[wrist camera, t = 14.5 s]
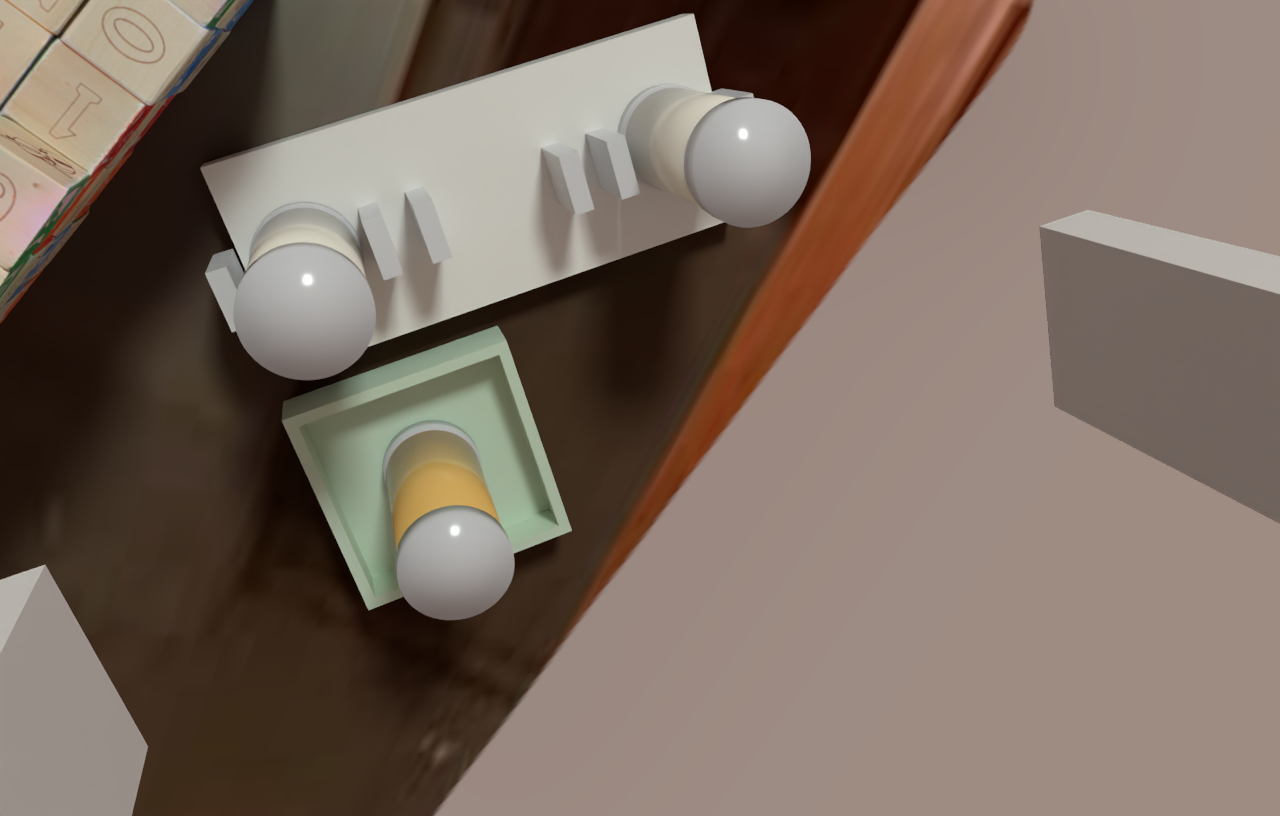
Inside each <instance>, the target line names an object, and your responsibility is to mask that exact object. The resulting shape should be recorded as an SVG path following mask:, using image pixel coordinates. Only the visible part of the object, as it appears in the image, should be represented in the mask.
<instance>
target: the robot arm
mask: <svg viewBox="0 0 1280 816" xmlns="http://www.w3.org/2000/svg"><path fill="white" fill-rule="evenodd" d="M1040 238H1041V249H1042V260H1043V261H1042V262H1043V273H1044V285H1045V297H1046V309H1047V321H1048V333H1049V345H1050V356H1051V368H1052V379H1053V392H1054V403H1055V407H1057V408H1059V409H1061V410H1063V411H1065V412H1067V413H1069V414H1070V415H1072V416H1074V417H1076V418H1078V419H1080V420H1082V421H1084V422H1086V423H1088V424H1090V425H1092V426H1093V427H1096V428H1098V429H1099V430H1101V431H1103V432H1105V433H1107V434H1109V435H1111V436H1113V437H1115V438H1116V439H1118V440H1120V441H1123V442H1124V443H1126V444H1128V445H1130V446H1132V447H1134V448H1136V449H1138V450H1140V451H1142V452H1143V453H1145V454H1147V455H1149V456H1151V457H1153V458H1155V459H1157V460H1159V461H1161V462H1163V463H1165V464H1166V465H1168V466H1170V467H1172V468H1174V469H1176V470H1178V471H1180V472H1182V473H1184V474H1186V475H1187V476H1189V477H1191V478H1193V479H1195V480H1197V481H1199V482H1201V483H1203V484H1205V485H1207V486H1209V487H1210V488H1213V489H1215V490H1216V491H1218V492H1220V493H1222V494H1224V495H1226V496H1228V497H1230V498H1232V499H1234V500H1236V501H1237V502H1239V503H1241V504H1243V505H1245V506H1247V507H1249V508H1251V509H1253V510H1255V511H1257V512H1258V513H1260V514H1262V515H1264V516H1266V517H1268V518H1270V519H1272V520H1274V521H1276V522H1278V523H1280V256H1275V255H1272V254H1267V253H1263V252H1259V251H1255V250H1251V249H1247V248H1243V247H1239V246H1235V245H1231V244H1227V243H1222V242H1218V241H1214V240H1210V239H1206V238H1202V237H1197V236H1194V235H1190V234H1185V233H1181V232H1177V231H1173V230H1169V229H1165V228H1161V227H1157V226H1152V225H1148V224H1144V223H1140V222H1136V221H1132V220H1128V219H1124V218H1120V217H1116V216H1111V215H1107V214H1103V213H1099V212H1095V211H1091V210H1086V211H1083V212H1080V213H1077V214H1074V215H1071V216H1068V217H1065V218H1063V219H1059V220H1057V221H1054V222H1051V223H1048V224H1045V225H1042V226H1040ZM147 748H148V746H147V744H146V742H145V740H144V739H143V737H142V735H141V733H140V732H139V730H138V728H137V726H136V724H135V723H134V721H133V719H132V717H131V716H130V714H129V712H128V710H127V709H126V707H125V705H124V703H123V701H122V700H121V698H120V696H119V694H118V693H117V691H116V689H115V687H114V686H113V684H112V682H111V680H110V678H109V677H108V675H107V673H106V671H105V670H104V668H103V666H102V664H101V663H100V661H99V659H98V657H97V656H96V654H95V652H94V650H93V648H92V647H91V645H90V643H89V641H88V640H87V638H86V636H85V634H84V633H83V631H82V629H81V627H80V625H79V624H78V622H77V620H76V618H75V617H74V615H73V613H72V611H71V610H70V608H69V606H68V604H67V602H66V601H65V599H64V597H63V595H62V594H61V592H60V590H59V588H58V587H57V585H56V583H55V581H54V579H53V578H52V576H51V574H50V572H49V571H48V569H47V567H46V565H43V566H40V567H37V568H34V569H31V570H28V571H25V572H22V573H19V574H16V575H13V576H10V577H7V578H4V579H2V580H0V816H132V812H133V808H134V803H135V799H136V795H137V791H138V786H139V782H140V778H141V774H142V769H143V765H144V761H145V757H146V752H147Z"/></svg>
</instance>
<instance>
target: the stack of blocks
mask: <svg viewBox="0 0 1280 816" xmlns="http://www.w3.org/2000/svg"><path fill="white" fill-rule="evenodd" d="M253 1H254V0H0V323H1V322H2V321H3V320H4V319H5V317H6V316H7V315H8V314H9V312H10V311H11V310H12V309H13V307H14V306H15V305H16V304H17V302H18V301H19V300H20V299H21V297H22V296H23V295H24V293H25V292H26V291H27V290H28V288H29V287H30V286H31V285H32V283H33V282H34V281H35V280H36V278H37V277H38V276H39V275H40V273H41V272H42V271H43V269H44V268H45V267H46V266H47V265H48V264H49V263H50V261H51V260H52V259H53V258H54V256H55V255H56V254H57V253H58V252H59V250H60V249H61V248H62V247H63V245H64V244H65V243H66V242H67V240H68V239H69V238H70V237H71V235H72V234H73V233H74V232H75V230H76V229H77V228H78V227H79V225H80V224H81V223H82V222H83V220H84V219H85V218H86V217H87V215H88V214H89V212H90V209H89V207H90V205H91V204H92V203H93V202H94V201H95V199H96V198H97V197H98V196H99V195H100V193H101V192H102V191H103V189H104V188H105V187H106V185H107V184H108V183H109V182H110V181H111V179H112V178H113V177H114V175H115V174H116V173H117V172H118V170H119V169H120V168H121V167H122V165H123V164H124V163H125V162H126V160H127V159H128V158H129V157H130V155H131V154H132V153H133V150H134V147H135V146H136V145H137V143H138V142H139V141H140V140H141V139H142V137H143V136H144V135H145V134H146V132H147V131H148V130H149V129H150V127H151V126H152V125H153V124H154V122H155V121H156V120H157V118H158V117H159V116H160V115H161V113H162V112H163V111H164V110H165V108H166V107H167V106H168V104H169V103H170V102H171V101H172V99H173V98H174V97H175V96H176V94H177V93H180V92H182V91H184V90H185V89H186V88H187V87H188V86H189V84H190V83H191V82H192V80H193V79H194V78H195V77H196V75H197V74H198V73H199V72H200V70H201V69H202V68H203V67H204V65H205V64H206V63H207V62H208V60H209V59H210V58H211V57H212V55H213V54H214V53H215V52H216V50H217V49H218V48H219V47H220V45H221V44H222V43H223V42H224V40H225V39H226V38H227V37H228V35H229V34H230V32H231V29H232V28H233V26H234V25H235V24H236V22H237V21H238V20H239V19H240V17H241V16H242V15H243V14H244V13H245V11H246V10H247V9H248V8H249V6H250V5H251V4H252V2H253Z"/></svg>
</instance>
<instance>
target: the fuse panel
mask: <svg viewBox="0 0 1280 816" xmlns="http://www.w3.org/2000/svg"><path fill="white" fill-rule="evenodd" d="M659 84H675V85H680V86H686V87H688V88H691V89H693V90H695V91H700V92H706V93H712V94H717V95H723V96H729V97H734V98H741V97H752V98H754V97H753V93H747V92H741V91H735V90H728V89H719V90H716V91H713V92H712V91H711V87H710V83H709V78H708V74H707V70H706V65H705V61H704V57H703V52H702V48H701V43H700V39H699V35H698V30H697V26H696V22H695V17H694V14H681V15H678V16H674V17H671V18H668V19H665V20H662V21H658V22H655V23H652V24H649V25H646V26H642V27H639V28H636V29H633V30H630V31H626V32H623V33H620V34H617V35H614V36H610V37H607V38H604V39H601V40H597V41H594V42H591V43H588V44H585V45H581V46H578V47H575V48H572V49H569V50H565V51H562V52H559V53H556V54H553V55H549V56H546V57H543V58H540V59H537V60H533V61H530V62H527V63H524V64H521V65H517V66H514V67H511V68H508V69H504V70H501V71H498V72H495V73H492V74H488V75H485V76H482V77H479V78H476V79H472V80H469V81H466V82H463V83H460V84H456V85H453V86H450V87H447V88H444V89H440V90H437V91H434V92H431V93H428V94H424V95H421V96H418V97H415V98H411V99H408V100H405V101H402V102H399V103H395V104H392V105H389V106H386V107H383V108H379V109H376V110H373V111H370V112H367V113H363V114H360V115H357V116H354V117H351V118H347V119H344V120H341V121H338V122H335V123H331V124H328V125H325V126H322V127H318V128H315V129H312V130H309V131H306V132H302V133H299V134H296V135H293V136H290V137H286V138H283V139H280V140H277V141H274V142H270V143H267V144H264V145H261V146H258V147H254V148H251V149H248V150H245V151H242V152H238V153H235V154H232V155H229V156H225V157H222V158H219V159H216V160H213V161H209V162H206V163H204V164H203V165H202V166H201V167H200V169H201V171H202V174H203V176H204V178H205V180H206V183H207V185H208V187H209V189H210V192H211V194H212V196H213V198H214V201H215V203H216V205H217V207H218V210H219V212H220V214H221V216H222V219H223V221H224V223H225V225H226V228H227V230H228V232H229V234H230V237H231V239H232V241H233V243H234V246H235V248H236V250H237V252H238V255H239V257H240V259H241V261H242V264H243V266H244V268H245V270H246V269H247V265H248V262H249V250H250V245H251V241H252V238H253V235H254V232H255V230H256V229H257V227H258V225H259V224H260V222H261V221H262V220H263V219H264V218H265V217H266V216H267V215H268V214H269V213H270V212H272V211H273V210H275V209H277V208H278V207H281V206H283V205H285V204H289V203H293V202H306V201H307V202H315V203H319V204H323V205H326V206H328V207H330V208H332V209H334V210H336V211H337V212H339V213H340V214H342V215H343V216H344V217H345V218H346V219H347V220H348V221H349V222H350V223H351V224H352V226H353V227H354V229H355V230H356V232H357V234H358V236H359V239H360V242H361V245H362V250H363V255H364V271H365V276H366V279H367V281H368V283H369V285H370V288H371V291H372V294H373V299H374V303H375V309H376V323H375V329H374V333H373V336H372V339H371V341H370V343H369V345H368V347H369V346H372V345H375V344H378V343H380V342H383V341H386V340H389V339H392V338H395V337H398V336H400V335H403V334H406V333H409V332H412V331H415V330H418V329H420V328H423V327H426V326H429V325H432V324H435V323H438V322H440V321H443V320H446V319H449V318H452V317H455V316H458V315H460V314H463V313H466V312H469V311H472V310H475V309H478V308H480V307H483V306H486V305H489V304H492V303H495V302H498V301H501V300H503V299H506V298H509V297H512V296H515V295H518V294H521V293H523V292H526V291H529V290H532V289H535V288H538V287H541V286H543V285H546V284H549V283H552V282H555V281H558V280H561V279H563V278H566V277H569V276H572V275H575V274H578V273H581V272H583V271H586V270H589V269H592V268H595V267H598V266H601V265H603V264H606V263H609V262H612V261H615V260H618V259H621V258H624V257H626V256H629V255H632V254H635V253H638V252H641V251H644V250H646V249H649V248H652V247H655V246H658V245H661V244H664V243H666V242H669V241H672V240H675V239H678V238H681V237H684V236H686V235H689V234H692V233H695V232H698V231H701V230H704V229H706V228H709V227H712V226H715V225H718V224H721V223H724V222H723V221H721V220H719V219H717V218H715V217H713V216H711V215H710V214H708V213H707V212H705V211H704V210H703V209H702V208H701V207H698V206H696V205H694V204H692V203H690V202H688V201H686V200H684V199H682V198H679V197H677V196H675V195H673V194H671V193H669V192H667V191H664V190H659V189H656V188H653V187H651V186H649V185H647V184H645V183H643V182H641V181H639V180H638V179H636V175H635V172H634V168H633V164H632V161H631V157H630V153H629V149H628V146H627V142H626V138H625V135H622V134H619V133H617V130H618V125H619V121H620V118H621V116H622V113H623V111H624V110H625V108H626V106H627V105H628V104H629V102H630V101H631V100H632V99H633V98H634V97H635V96H636V95H637V94H639V93H640V92H641V91H643V90H645V89H647V88H649V87H652V86H655V85H659ZM205 275H206V277H207V279H208V282H209V284H210V286H211V288H212V290H213V292H214V295H215V297H216V299H217V301H218V303H219V305H220V308H221V310H222V312H223V314H224V316H225V318H226V321H227V323H228V325H229V327H230V329H231V331H232V332H235V331H236V328H235V324H234V317H233V307H234V300H235V296H236V292H237V289H238V286H239V283H240V281H241V279H242V277H243V275H244V272H243V270H242V268H241V265H240V263H239V261H238V259H237V257H236V254H235V252H234V250H233V248H232V249H229V250H226V251H223V252H220V253H217V254H214V255H213V256H212V259H211V261H210V263H209V265H208V268H207V270H206V272H205Z"/></svg>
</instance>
